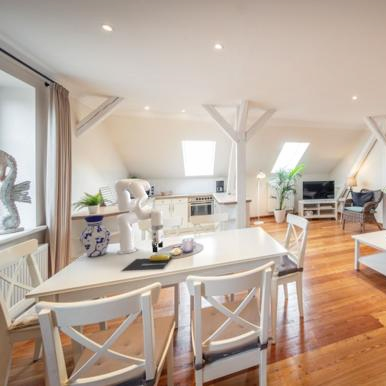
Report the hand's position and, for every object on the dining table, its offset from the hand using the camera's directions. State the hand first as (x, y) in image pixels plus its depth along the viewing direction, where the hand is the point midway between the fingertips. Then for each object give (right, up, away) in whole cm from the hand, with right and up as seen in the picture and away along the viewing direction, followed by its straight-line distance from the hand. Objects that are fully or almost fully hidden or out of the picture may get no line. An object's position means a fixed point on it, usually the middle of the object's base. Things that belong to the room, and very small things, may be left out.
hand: (157, 249), depth 164 cm
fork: (+2, -9, -8) cm, 12 cm away
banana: (+1, -8, 0) cm, 8 cm away
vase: (-54, -7, +12) cm, 56 cm away
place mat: (-3, -9, -6) cm, 11 cm away
